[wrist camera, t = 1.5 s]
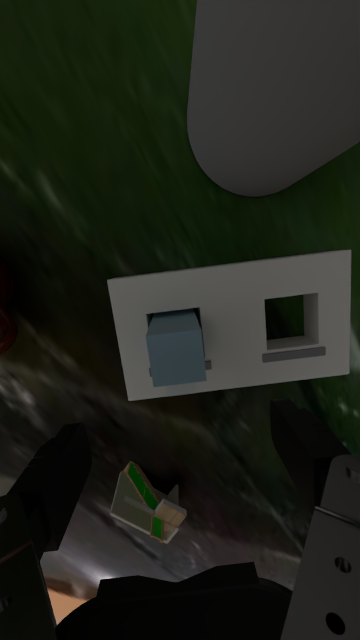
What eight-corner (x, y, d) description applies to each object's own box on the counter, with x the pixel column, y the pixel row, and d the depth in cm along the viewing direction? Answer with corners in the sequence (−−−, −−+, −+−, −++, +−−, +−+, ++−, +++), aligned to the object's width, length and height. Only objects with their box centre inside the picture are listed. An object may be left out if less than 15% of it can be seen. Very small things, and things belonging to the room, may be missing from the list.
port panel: (114, 277, 27) (106, 280, 24) (332, 250, 27) (353, 249, 24) (133, 387, 30) (128, 402, 27) (332, 362, 30) (351, 375, 27)
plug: (154, 312, 28) (145, 336, 19) (192, 307, 28) (201, 329, 19) (161, 361, 29) (156, 404, 21) (198, 356, 29) (208, 397, 21)
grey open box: (138, 445, 32) (126, 505, 24) (186, 472, 33) (190, 537, 25) (120, 469, 33) (104, 535, 25) (168, 495, 34) (166, 566, 26)
